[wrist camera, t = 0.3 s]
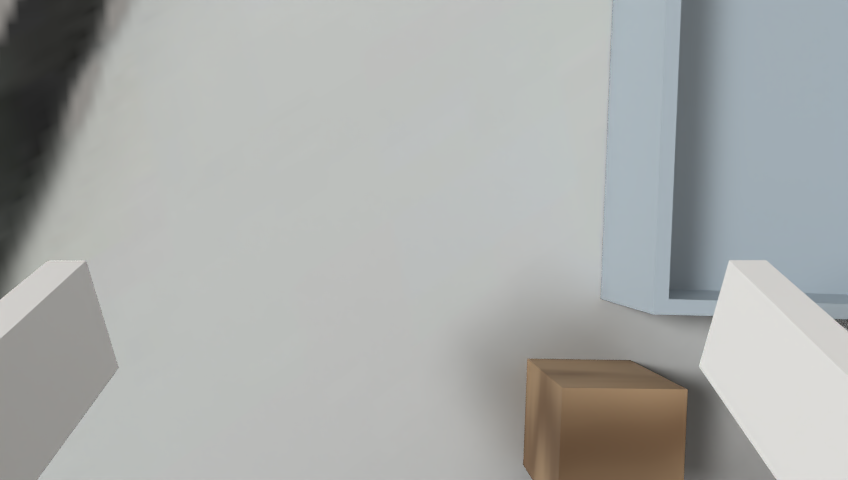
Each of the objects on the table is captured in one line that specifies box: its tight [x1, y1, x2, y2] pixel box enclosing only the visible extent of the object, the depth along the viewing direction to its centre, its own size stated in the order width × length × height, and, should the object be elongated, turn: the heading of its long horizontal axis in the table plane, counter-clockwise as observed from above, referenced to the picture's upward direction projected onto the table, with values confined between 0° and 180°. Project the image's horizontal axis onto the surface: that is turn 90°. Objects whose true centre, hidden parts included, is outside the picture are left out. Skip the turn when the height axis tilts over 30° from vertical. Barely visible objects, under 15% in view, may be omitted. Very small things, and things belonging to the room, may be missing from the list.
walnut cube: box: [523, 359, 688, 480], centre depth 24 cm, size 5×5×5 cm
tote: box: [601, 0, 848, 319], centre depth 25 cm, size 25×17×5 cm
